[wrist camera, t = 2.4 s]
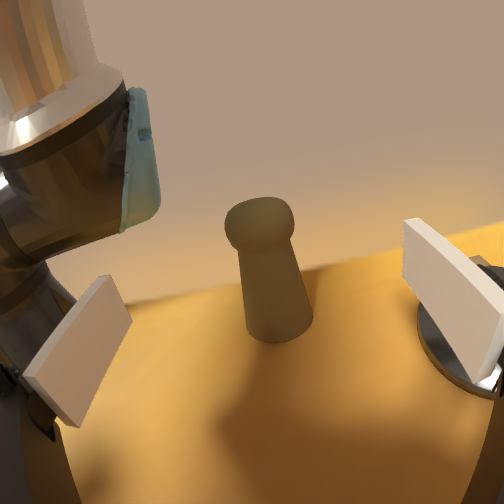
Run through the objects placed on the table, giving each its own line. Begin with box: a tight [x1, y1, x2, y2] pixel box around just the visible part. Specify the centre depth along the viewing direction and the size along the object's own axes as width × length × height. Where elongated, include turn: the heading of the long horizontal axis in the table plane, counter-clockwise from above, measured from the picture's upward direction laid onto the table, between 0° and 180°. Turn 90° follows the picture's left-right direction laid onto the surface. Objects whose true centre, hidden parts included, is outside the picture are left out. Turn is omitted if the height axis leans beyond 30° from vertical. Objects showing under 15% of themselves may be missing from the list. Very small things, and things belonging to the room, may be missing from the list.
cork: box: [225, 197, 313, 343], centre depth 24 cm, size 6×6×11 cm
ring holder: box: [417, 255, 504, 400], centre depth 17 cm, size 16×16×3 cm
